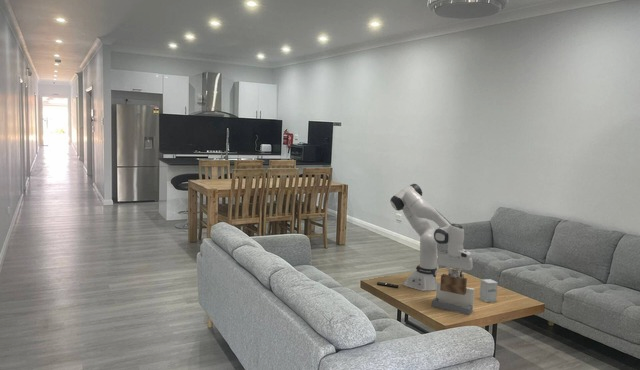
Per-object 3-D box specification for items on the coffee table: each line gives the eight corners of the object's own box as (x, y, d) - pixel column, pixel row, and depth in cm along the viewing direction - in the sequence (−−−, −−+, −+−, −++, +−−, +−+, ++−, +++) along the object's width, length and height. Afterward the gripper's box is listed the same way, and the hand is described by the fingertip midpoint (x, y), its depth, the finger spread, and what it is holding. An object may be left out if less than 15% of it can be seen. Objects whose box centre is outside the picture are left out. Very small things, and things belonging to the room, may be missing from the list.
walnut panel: (440, 290, 275) (441, 268, 274) (442, 288, 279) (443, 267, 278) (464, 295, 268) (465, 273, 267) (465, 293, 271) (467, 271, 270)
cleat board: (431, 306, 277) (433, 285, 276) (436, 302, 285) (438, 281, 284) (469, 314, 266) (470, 292, 264) (473, 310, 273) (474, 288, 272)
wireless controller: (445, 277, 339) (447, 254, 337) (465, 279, 335) (467, 256, 333) (445, 285, 319) (447, 261, 318) (466, 288, 316) (468, 263, 314)
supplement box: (486, 302, 288) (487, 282, 286) (479, 298, 295) (480, 279, 293) (496, 302, 290) (498, 282, 288) (489, 298, 297) (490, 278, 295)
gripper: (436, 250, 274) (435, 272, 275) (471, 255, 263) (469, 279, 264) (439, 248, 279) (438, 270, 281) (474, 253, 268) (472, 276, 270)
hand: (454, 274), depth 273 cm, fingers closed on walnut panel, 3 cm apart
